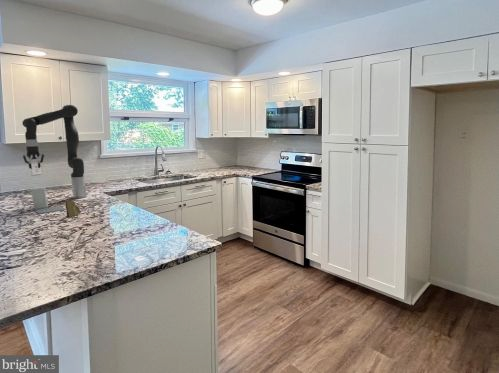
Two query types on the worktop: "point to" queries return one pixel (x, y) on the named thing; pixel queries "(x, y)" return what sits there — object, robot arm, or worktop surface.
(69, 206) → the rock
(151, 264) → the worktop surface
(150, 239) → the worktop surface
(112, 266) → the worktop surface
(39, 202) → the skincare box
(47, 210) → the mat
